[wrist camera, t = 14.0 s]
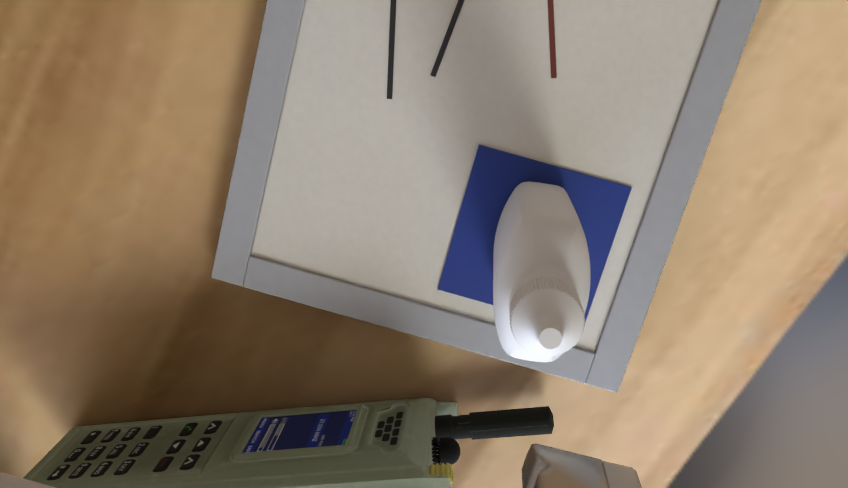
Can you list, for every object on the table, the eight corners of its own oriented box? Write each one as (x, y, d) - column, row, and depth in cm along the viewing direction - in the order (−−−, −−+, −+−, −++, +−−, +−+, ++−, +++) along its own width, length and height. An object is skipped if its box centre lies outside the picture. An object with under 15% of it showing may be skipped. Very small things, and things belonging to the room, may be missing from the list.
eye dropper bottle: (456, 260, 36) (439, 364, 25) (532, 163, 35) (551, 225, 23) (531, 315, 37) (549, 443, 25) (610, 221, 35) (667, 311, 24)
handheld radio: (68, 415, 41) (547, 374, 39) (84, 470, 42) (553, 434, 39) (-8, 490, 35) (559, 447, 32) (12, 553, 36) (566, 517, 33)
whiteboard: (308, -165, 33) (301, -173, 32) (766, -39, 33) (777, -43, 32) (219, 270, 39) (210, 278, 37) (613, 381, 38) (617, 393, 37)
